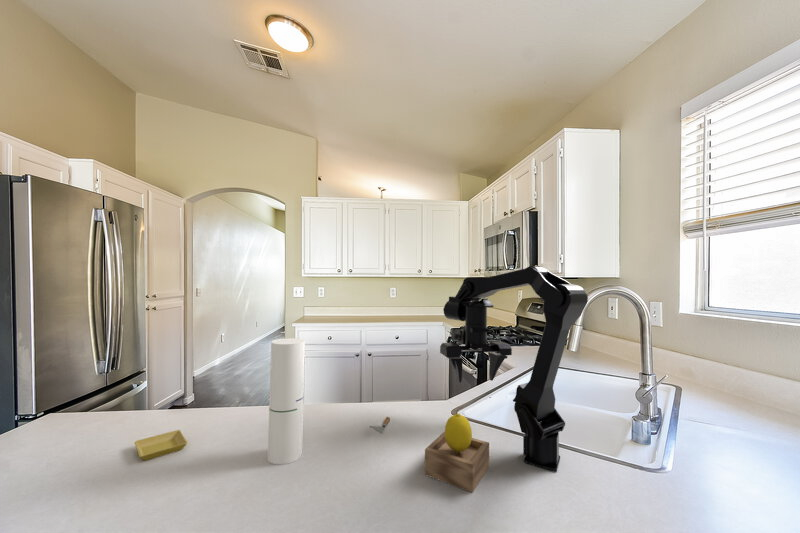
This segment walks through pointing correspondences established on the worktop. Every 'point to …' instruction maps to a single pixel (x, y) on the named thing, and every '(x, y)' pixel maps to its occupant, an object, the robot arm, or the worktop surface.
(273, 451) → the cylindrical container
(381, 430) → the putty knife
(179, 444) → the yellow tray
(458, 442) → the lemon
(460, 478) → the walnut box
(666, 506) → the worktop surface
